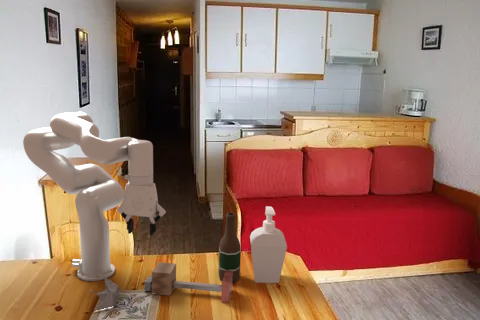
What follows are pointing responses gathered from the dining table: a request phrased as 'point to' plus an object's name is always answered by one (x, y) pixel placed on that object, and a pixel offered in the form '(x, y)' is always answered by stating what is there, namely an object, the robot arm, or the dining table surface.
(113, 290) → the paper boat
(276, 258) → the soap bottle
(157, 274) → the block
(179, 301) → the dining table surface
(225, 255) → the beer bottle
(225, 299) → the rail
